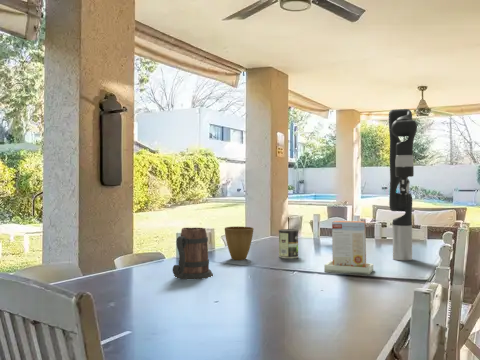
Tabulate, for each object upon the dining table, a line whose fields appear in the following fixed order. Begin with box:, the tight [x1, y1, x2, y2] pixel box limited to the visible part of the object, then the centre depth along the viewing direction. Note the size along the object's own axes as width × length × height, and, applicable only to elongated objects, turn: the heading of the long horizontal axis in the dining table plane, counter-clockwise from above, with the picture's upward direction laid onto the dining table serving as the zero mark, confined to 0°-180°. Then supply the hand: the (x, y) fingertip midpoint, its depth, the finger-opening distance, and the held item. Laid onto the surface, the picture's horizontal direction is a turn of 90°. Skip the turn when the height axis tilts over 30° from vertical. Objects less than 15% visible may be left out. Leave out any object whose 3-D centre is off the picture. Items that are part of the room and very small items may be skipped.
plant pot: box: [224, 226, 254, 261], centre depth 236 cm, size 15×15×16 cm
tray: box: [323, 260, 374, 276], centre depth 202 cm, size 11×19×3 cm, turn 65°
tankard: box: [172, 227, 214, 280], centre depth 193 cm, size 24×17×20 cm
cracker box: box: [331, 220, 367, 267], centre depth 202 cm, size 14×6×21 cm, turn 70°
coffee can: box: [278, 228, 299, 259], centre depth 242 cm, size 10×10×14 cm
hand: (404, 203), depth 203 cm, fingers open, 7 cm apart
